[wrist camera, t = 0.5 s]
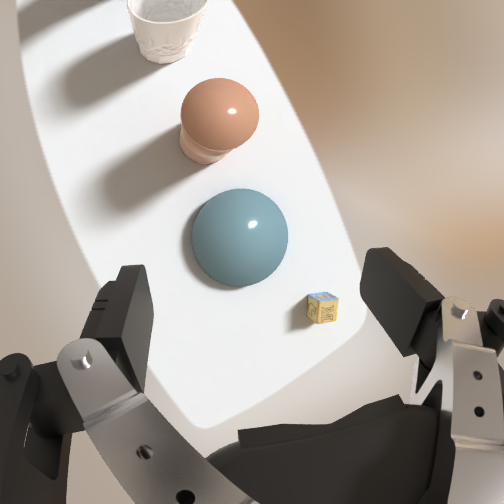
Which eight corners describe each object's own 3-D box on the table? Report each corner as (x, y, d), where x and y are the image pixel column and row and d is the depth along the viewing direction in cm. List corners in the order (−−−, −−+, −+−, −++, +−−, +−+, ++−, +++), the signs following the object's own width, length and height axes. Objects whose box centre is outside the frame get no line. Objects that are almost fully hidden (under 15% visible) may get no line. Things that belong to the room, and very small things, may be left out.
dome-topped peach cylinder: (170, 121, 30) (171, 89, 21) (224, 106, 32) (245, 71, 22) (187, 173, 32) (194, 160, 22) (241, 156, 33) (268, 138, 24)
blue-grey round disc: (177, 208, 32) (177, 208, 31) (268, 177, 34) (271, 176, 33) (211, 297, 35) (212, 300, 34) (294, 263, 37) (298, 265, 36)
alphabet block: (327, 291, 39) (339, 298, 36) (326, 313, 39) (337, 321, 36) (307, 293, 38) (318, 300, 35) (306, 316, 39) (316, 324, 36)
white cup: (172, 78, 29) (175, 36, 20) (121, 52, 27) (109, 7, 17) (210, 35, 29) (225, -11, 20) (160, 11, 27) (163, -37, 17)
